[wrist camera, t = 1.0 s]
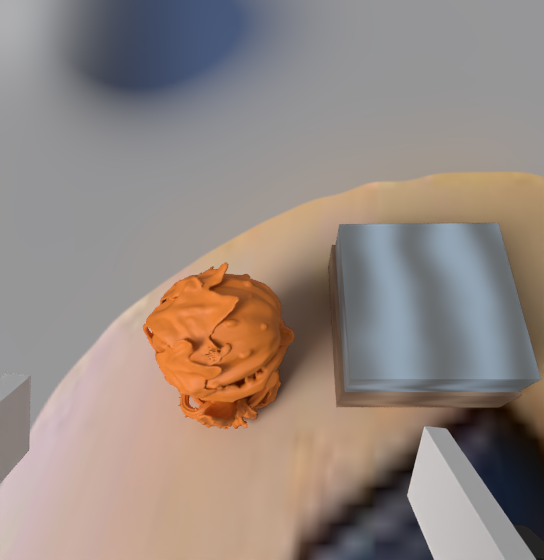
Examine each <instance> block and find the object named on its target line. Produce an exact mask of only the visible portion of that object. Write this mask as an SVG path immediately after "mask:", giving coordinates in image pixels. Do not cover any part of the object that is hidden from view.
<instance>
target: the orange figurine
mask: <svg viewBox="0 0 544 560" xmlns="http://www.w3.org/2000/svg"><path fill="white" fill-rule="evenodd" d="M213 268H214V267H211V268H210V269H209V270H207V271H205V272H203V273H200V274H199V275H191V276H189V277H187V278H185V279H183V280H180V281H178V282H176V283H175V284H174V285H173V286H172V287H171V288H170V289H169V290H168V291H167V292H166V293H165V294H164V296H163V297H162V298H161V300H160V305H159V306H158V307H157V308H156V309H155V310H154V311H153V312H152V314H150V315H149V317H148V318H147V320H146V324H144V326H143V330H144V332H145V334H146V335H147V338H148V339H149V342H150V344H151V346H152V347H153V348H154V349H155V351H156V354H155V358H156V361H157V363H158V365H159V367H160V369H161V371H162V372H163V373H164V375H165V379H166V381H168V382H169V383H170V384H171V385H173V386H175V387H176V388H177V389H178V391H179V392H180V394H182V395H181V397H179V398H181V399H180V405H178V406H181V409H182V411H183V412H184V414H185V415H186V416H185V417H190V418H192V419H197V421H198V422H200V423H202V424H203V425H206V426H207V427H208V428H209V427H211V426H217V427H219V428H224V429H228V428H227V427H231V425H233V427H234V428H235V429H236V428H238V427H239V426H243V427H245V428H246V427H247V422H246V421H244V420H243V417H245V418H253V419H256V418H257V414H258V412H256V411H255V409H257V408H263V407H265V406H267V405H268V404H269V403H270V402H273V401H275V399H276V394H277V390H278V388H279V386H280V385H281V382H280V381H279V370H278V369H277V368H278V367H279V365H280V364H281V362H282V360H283V357H284V354H285V353H286V351H287V348H288V345H289V344H291V343H292V342H293V341H294V338H295V335H294V332H293V331H292V329H290V328H288V327H286V326H285V325H284V321H283V319H282V318H281V317H280V316H281V304H280V301H279V299H278V297H277V296H276V295H275V294H274V292H273V291H272V290H271V289H270V288H269V287H268V286H267V285H266V284H264V283H261V282H258V281H256V280H253V279H250V276H249V275H248V274H244V275H233V274H225V272H226V270H227V268H228V264H227V263H224V264H222V265H221V266H220V268H219V269H213ZM166 299H168V300H167V301H166ZM148 327H149V328H150V329H151V330H152V333H151V332H150V331H149V329H148ZM265 395H266V396H265ZM189 396H191V397H192V398H193V399H194V401H195V402H196V403H197V404H198V405H199V406H200V408H198V409H197V408H196V407H195V408H193V407H191V406H190V405H189ZM264 397H265V398H264ZM263 398H264V399H263ZM262 399H263V400H262ZM261 400H262V401H261ZM253 410H254V411H253Z"/></svg>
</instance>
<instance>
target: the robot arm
mask: <svg viewBox="0 0 544 560" xmlns="http://www.w3.org/2000/svg"><path fill="white" fill-rule="evenodd" d="M30 379H31V378H30V376H27V375H20V374H12V373H6V374H5V375H3V376H2V377H1V378H0V483H1V482H2V481H3V480H4V478H5V477H6V476H7V475H8V474H9V473H10V471H11V470H12V469H13V468H14V467H15V466H16V465H17V463H18V462H19V461H20V460H21V459H22V458H23V457H24V455H25V454H26V453H27V452H28V451H29V434H30ZM407 496H408V499H409V501H410V504H411V506H412V508H413V511H414V513H415V515H416V518H417V520H418V523H419V525H420V527H421V530H422V532H423V534H424V537H425V539H426V541H427V544H428V546H429V549H430V551H431V553H432V556H433V558H434V560H544V542H543V541H542V540H541V539H540V538H539V537H538V536H537V535H535V534H534V533H533V532H532V531H531V530H530V529H528V528H527V527H526V526H518V525H512V523H511V522H510V521H509V519H508V518H507V516H506V515H505V513H504V512H503V510H502V509H501V507H500V506H499V504H498V503H497V502H496V500H495V499H494V497H493V496H492V494H491V493H490V491H489V490H488V488H487V487H486V485H485V484H484V483H483V481H482V480H481V478H480V477H479V475H478V474H477V472H476V471H475V469H474V468H473V466H472V465H471V464H470V462H469V461H468V459H467V458H466V456H465V455H464V453H463V452H462V450H461V449H460V448H459V446H458V445H457V443H456V442H455V440H454V439H453V437H452V436H451V434H450V433H449V431H448V430H447V429H445V428H437V427H429V426H424V430H423V434H422V438H421V442H420V446H419V450H418V454H417V458H416V462H415V466H414V470H413V474H412V478H411V483H410V487H409V491H408V495H407Z"/></svg>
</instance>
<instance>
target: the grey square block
mask: <svg viewBox="0 0 544 560" xmlns="http://www.w3.org/2000/svg"><path fill="white" fill-rule="evenodd" d="M328 270H329V287H330V304H331V322H332V339H333V357H334V374H335V392H336V407H501V406H503V405H505V404H507V403H509V402H510V401H512V400H514V399H516V398H518V397H520V396H522V395H521V391H520V390H522V389H524V388H526V387H528V386H529V385H531V384H533V383H535V382H537V381H539V380H540V379H541V378H540V374H539V370H538V367H537V363H536V359H535V356H534V352H533V348H532V345H531V341H530V337H529V334H528V330H527V326H526V323H525V319H524V315H523V312H522V308H521V304H520V301H519V297H518V293H517V290H516V286H515V282H514V279H513V275H512V271H511V268H510V264H509V260H508V257H507V253H506V249H505V246H504V242H503V238H502V235H501V231H500V227H499V224H498V223H437V224H339V229H338V235H337V240H336V245H332V248H331V254H330V260H329V266H328Z"/></svg>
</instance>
